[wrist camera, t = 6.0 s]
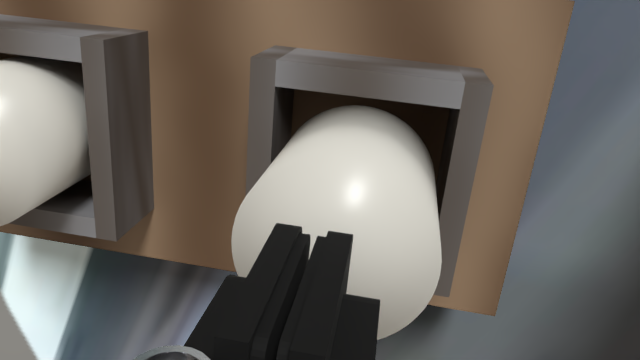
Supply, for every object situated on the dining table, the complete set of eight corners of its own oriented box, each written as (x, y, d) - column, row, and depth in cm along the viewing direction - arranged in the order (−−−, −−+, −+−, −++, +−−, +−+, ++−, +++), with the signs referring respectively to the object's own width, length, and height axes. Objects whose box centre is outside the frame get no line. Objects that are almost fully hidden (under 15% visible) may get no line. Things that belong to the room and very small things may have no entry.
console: (535, -5, 22) (606, 5, 14) (478, 245, 27) (506, 367, 18) (16, -55, 25) (-181, -70, 17) (43, 178, 30) (-102, 256, 21)
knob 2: (447, 116, 16) (460, 173, 11) (421, 260, 18) (422, 360, 13) (285, 95, 16) (233, 142, 12) (276, 237, 18) (229, 325, 14)
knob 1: (117, 58, 20) (26, 83, 15) (124, 182, 21) (45, 238, 17) (-4, 44, 20) (-128, 63, 16) (13, 165, 22) (-93, 215, 18)
